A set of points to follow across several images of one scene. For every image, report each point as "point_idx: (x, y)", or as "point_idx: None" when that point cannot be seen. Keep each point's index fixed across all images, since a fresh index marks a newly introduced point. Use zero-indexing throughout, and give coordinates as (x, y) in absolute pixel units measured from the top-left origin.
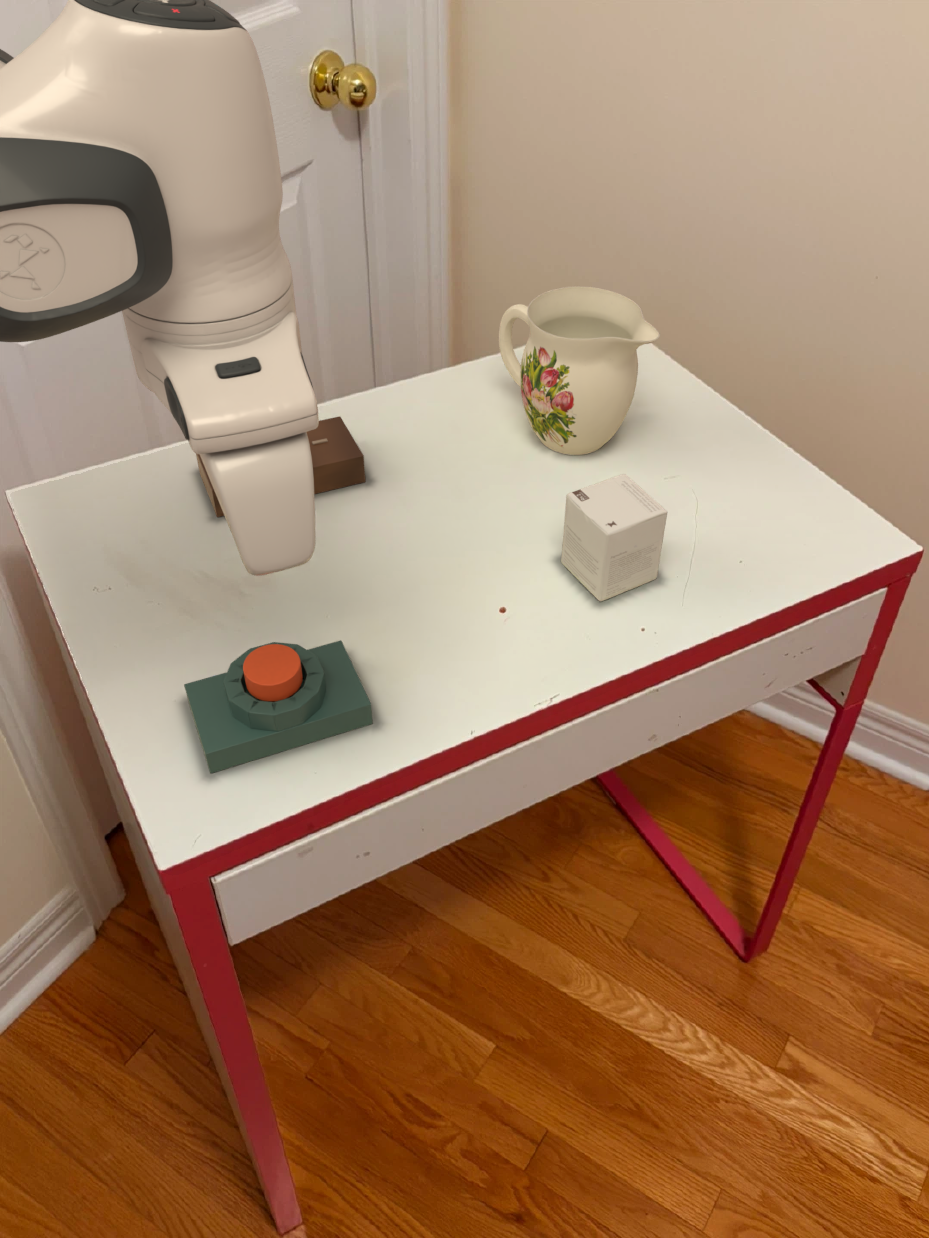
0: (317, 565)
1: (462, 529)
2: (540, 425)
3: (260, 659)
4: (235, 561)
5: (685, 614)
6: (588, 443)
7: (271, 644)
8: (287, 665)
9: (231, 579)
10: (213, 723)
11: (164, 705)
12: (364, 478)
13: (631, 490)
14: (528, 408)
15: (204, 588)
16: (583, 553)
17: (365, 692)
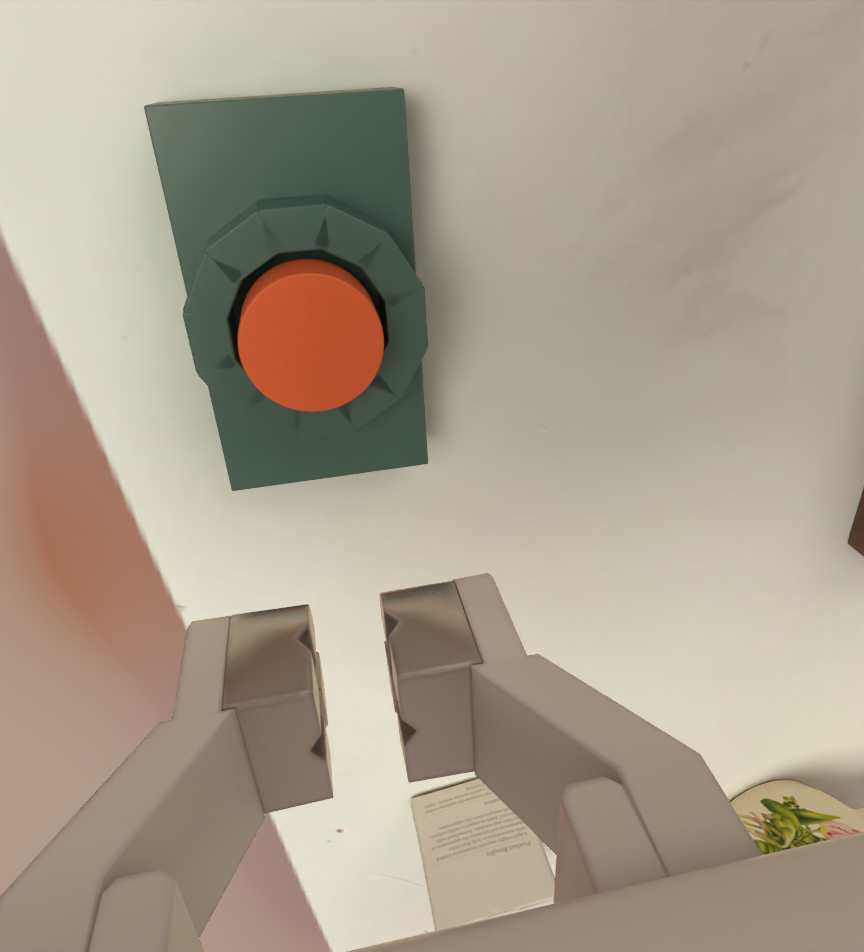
0: (686, 431)
1: (650, 661)
2: (782, 825)
3: (337, 321)
4: (783, 272)
5: (352, 873)
6: None
7: (380, 355)
8: (298, 381)
9: (736, 255)
10: (246, 145)
11: (407, 19)
12: (854, 547)
13: None
14: (821, 831)
15: (740, 189)
16: (472, 839)
17: (268, 485)
